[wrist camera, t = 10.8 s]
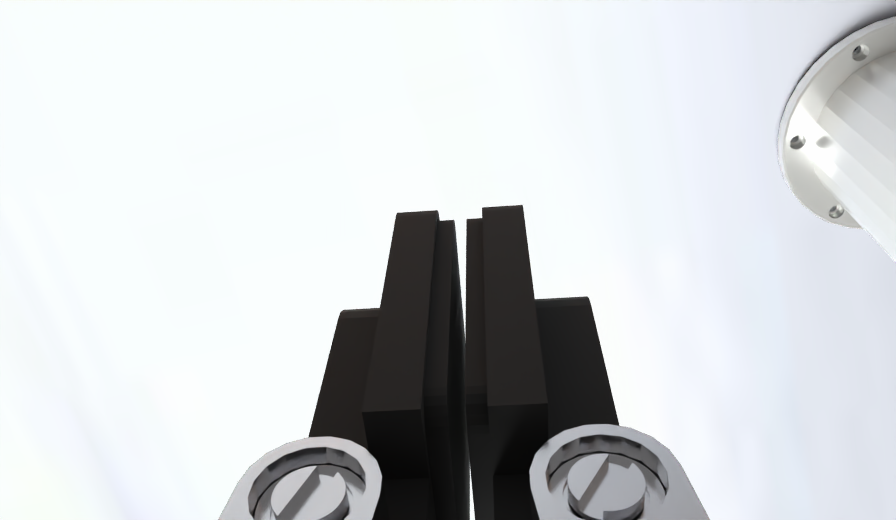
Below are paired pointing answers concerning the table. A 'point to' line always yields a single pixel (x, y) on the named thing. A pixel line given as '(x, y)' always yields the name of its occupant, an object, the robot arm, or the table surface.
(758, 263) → the table surface
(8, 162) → the table surface
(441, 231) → the robot arm
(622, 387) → the table surface
